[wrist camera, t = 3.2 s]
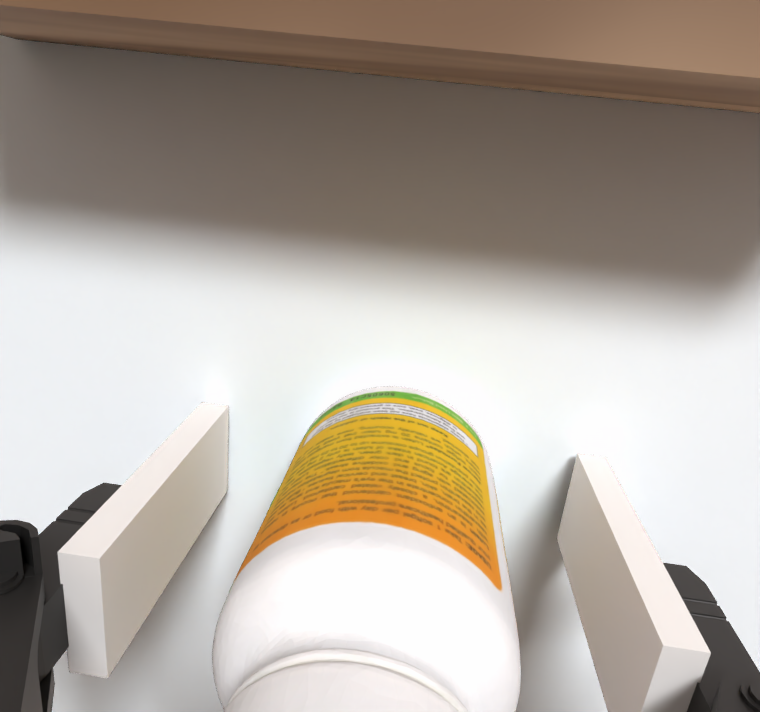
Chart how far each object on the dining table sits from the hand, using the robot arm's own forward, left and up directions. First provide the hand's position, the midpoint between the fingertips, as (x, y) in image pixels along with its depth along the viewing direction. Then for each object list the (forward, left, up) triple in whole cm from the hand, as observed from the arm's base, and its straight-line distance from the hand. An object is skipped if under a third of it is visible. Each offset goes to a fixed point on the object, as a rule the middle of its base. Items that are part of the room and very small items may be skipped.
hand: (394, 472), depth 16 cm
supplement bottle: (0, 0, 0) cm, 0 cm away
